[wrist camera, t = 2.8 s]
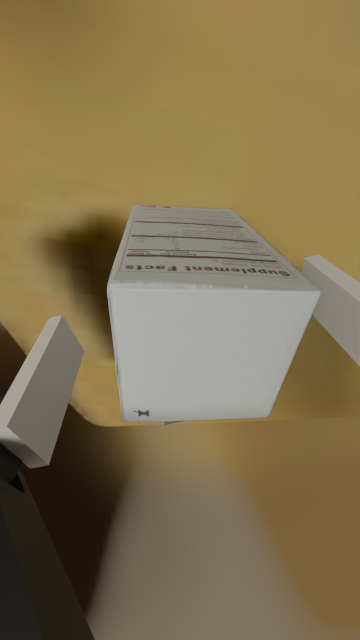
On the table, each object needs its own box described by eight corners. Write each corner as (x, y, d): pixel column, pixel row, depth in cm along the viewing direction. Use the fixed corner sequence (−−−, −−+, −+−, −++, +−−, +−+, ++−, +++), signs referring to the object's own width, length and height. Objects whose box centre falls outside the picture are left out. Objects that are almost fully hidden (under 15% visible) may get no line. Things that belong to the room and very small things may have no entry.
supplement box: (218, 294, 23) (270, 423, 13) (134, 292, 22) (116, 427, 12) (234, 206, 19) (331, 291, 8) (131, 199, 18) (99, 284, 8)
